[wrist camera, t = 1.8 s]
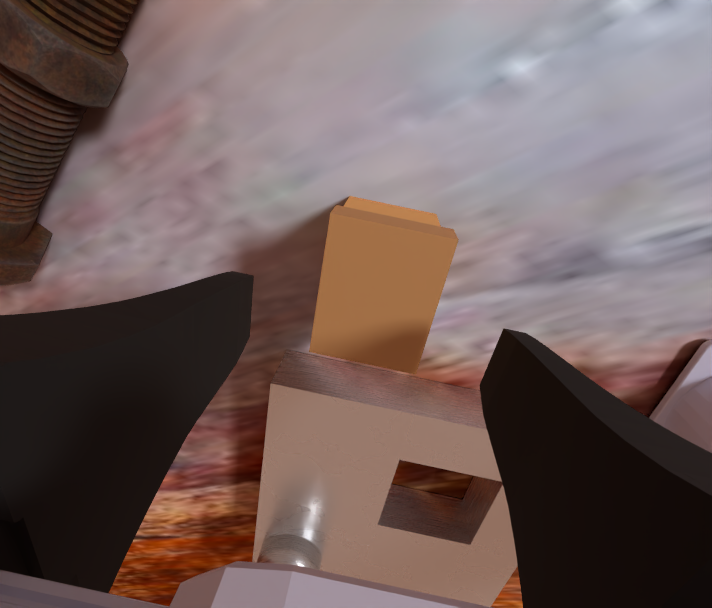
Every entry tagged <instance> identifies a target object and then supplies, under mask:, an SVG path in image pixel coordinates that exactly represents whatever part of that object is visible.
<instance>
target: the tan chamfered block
mask: <svg viewBox="0 0 712 608" xmlns="http://www.w3.org/2000/svg"><path fill="white" fill-rule="evenodd" d="M457 243H458V238H457V236H456V234H455V232H454V229H449V228H445V227H441V226H440V223H439V220H438V218H437V215H436V214H433V213H429V212H424V211H419V210H414V209H409V208H405V207H400V206H395V205H390V204H385V203H381V202H376V201H371V200H366V199H362V198H357V197H352V196H349V198H348V200H347V201H346V203H345V204H344V206H339V205H336V206H335V207H334V209H333V210H332V211H331V213H330V219H329V225H328V232H327V238H326V245H325V251H324V258H323V264H322V271H321V278H320V284H319V291H318V297H317V304H316V310H315V317H314V323H313V330H312V337H311V343H310V350H309V352H313V353H317V354H322V355H327V356H332V357H336V358H341V359H346V360H350V361H355V362H360V363H365V364H369V365H374V366H379V367H383V368H388V369H393V370H397V371H402V372H407V373H412V374H416V372H417V369H418V366H419V362H420V359H421V356H422V353H423V350H424V347H425V343H426V340H427V337H428V334H429V331H430V328H431V325H432V321H433V318H434V315H435V312H436V309H437V306H438V303H439V299H440V296H441V293H442V290H443V287H444V284H445V281H446V277H447V274H448V271H449V268H450V265H451V262H452V259H453V255H454V252H455V249H456V246H457Z"/></svg>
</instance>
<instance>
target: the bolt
mask: <svg viewBox="0 0 712 608" xmlns="http://www.w3.org/2000/svg"><path fill="white" fill-rule="evenodd" d="M137 3H138V2H137V0H0V286H4V285H12V284H17V283H22V282H27V281H31V279H32V277H33V275H34V273H35V271H36V270H37V268H38V266H39V264H40V261H41V259H42V257H43V254H44V252H45V250H46V248H47V245H48V243H49V241H50V238H51V236H52V233H51V232H50V231H48V230H47V229H46V228H44V227H43V226H42V225H40V224H39V223H37V222H36V221H35V220H36V218H37V216H38V213H39V205H40V203H41V202H42V200H43V198H44V195H45V193H46V191H47V189H48V187H49V184H50V182H51V181H52V177H53V176H54V174H55V171H56V170H57V168H58V165H59V164H60V163H61V159H62V158H63V157H64V152H65V151H66V150H67V146H68V145H69V144H70V140H72V137H73V133H74V132H75V131H76V130H77V129H76V127H77V126H78V125H79V122H80V120H81V119H82V118H83V113H84V112H85V111H86V107H91V108H105V107H108V106H109V104H110V102H111V100H112V98H113V96H114V94H115V92H116V90H117V88H118V86H119V84H120V82H121V80H122V78H123V76H124V74H125V72H126V70H127V67H128V62H127V59H126V58H125V56H124V54H123V53H122V51H121V50H120V49H119V48H118V47H117V46H116V45H118V42H117V40H116V38H121V36H122V34H121V32H120V30H124V29H125V24H124V22H128V21H129V20H130V19H129V16H128V14H132V13H133V12H134V11H133V8H132V6H131V5H135V4H137Z"/></svg>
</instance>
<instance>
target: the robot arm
mask: <svg viewBox="0 0 712 608" xmlns="http://www.w3.org/2000/svg"><path fill="white" fill-rule="evenodd" d="M252 292H253V276H252V275H248V274H243V273H238V272H233V271H232V272H226V273H221V274H218V275H214V276H211V277H208V278H204V279H201V280H198V281H195V282H191V283H188V284H185V285H182V286H178V287H175V288H171V289H168V290H164V291H160V292H156V293H153V294H149V295H145V296H141V297H137V298H133V299H128V300H124V301H119V302H113V303H108V304H102V305H97V306H90V307H83V308H75V309H66V310H58V311H49V312H41V313H29V314H15V315H0V608H492V607H487V606H483V605H478V604H474V603H469V602H464V601H460V600H455V599H450V598H446V597H441V596H437V595H432V594H427V593H423V592H418V591H413V590H409V589H404V588H400V587H395V586H390V585H386V584H381V583H376V582H372V581H367V580H363V579H358V578H353V577H349V576H344V575H339V574H335V573H330V572H326V571H321V570H316V569H312V568H307V567H302V566H298V565H290V564H274V563H257V562H240V561H237V562H234V563H231V564H228V565H225V566H223V567H220V568H217V569H214V570H211V571H208V572H205V573H203V574H200V575H197V576H195V577H193V578H191V579H188V580H186V581H184V582H182V583H181V584H180V586H179V588H178V590H177V592H176V594H175V596H174V598H173V600H172V602H171V604H170V606H169V607H168V606H164V605H159V604H155V603H150V602H145V601H141V600H136V599H132V598H127V597H122V596H118V595H113V594H109V591H110V588H111V586H112V584H113V582H114V580H115V578H116V575H117V573H118V571H119V569H120V567H121V565H122V562H123V560H124V558H125V556H126V554H127V552H128V550H129V548H130V546H131V543H132V541H133V539H134V537H135V535H136V533H137V531H138V529H139V527H140V525H141V523H142V521H143V519H144V517H145V515H146V513H147V511H148V509H149V507H150V505H151V503H152V501H153V499H154V497H155V495H156V493H157V491H158V489H159V487H160V485H161V483H162V481H163V480H164V478H165V476H166V474H167V472H168V470H169V468H170V466H171V464H172V463H173V461H174V459H175V457H176V455H177V453H178V452H179V450H180V448H181V446H182V444H183V442H184V441H185V439H186V437H187V435H188V434H189V432H190V431H191V429H192V427H193V426H194V424H195V423H196V421H197V420H198V418H199V417H200V416H201V414H202V413H203V411H204V410H205V408H206V407H207V405H208V404H209V403H210V401H211V400H212V398H213V397H214V395H215V394H216V393H217V391H218V390H219V388H220V387H221V385H222V384H223V382H224V381H225V380H226V378H227V377H228V375H229V374H230V372H231V371H232V369H233V368H234V366H235V365H236V363H237V361H238V359H239V357H240V355H241V353H242V352H243V349H244V347H245V345H246V343H247V341H248V339H249V337H250V322H251V307H252ZM480 393H481V403H482V410H483V416H484V420H485V424H486V428H487V431H488V435H489V439H490V442H491V446H492V449H493V453H494V456H495V459H496V463H497V466H498V470H499V473H500V477H501V480H502V484H503V487H504V491H505V495H506V500H507V504H508V509H509V514H510V520H511V526H512V532H513V538H514V543H515V550H516V557H517V564H518V571H519V578H520V585H521V593H522V601H523V608H712V340H708V341H706V342H704V343H703V344H702V345H701V346H700V347H699V349H698V350H697V351H696V353H695V354H694V356H693V357H692V358H691V360H690V361H689V363H688V364H687V365H686V367H685V368H684V370H683V371H682V372H681V374H680V375H679V377H678V378H677V379H676V381H675V382H674V384H673V385H672V386H671V388H670V389H669V391H668V392H667V393H666V395H665V396H664V398H663V399H662V400H661V402H660V403H659V404H658V406H657V407H656V409H655V410H654V411H653V413H652V414H651V416H650V417H649V418H648V417H646V416H644V415H643V414H641V413H639V412H638V411H636V410H635V409H633V408H632V407H630V406H628V405H627V404H625V403H624V402H622V401H621V400H619V399H618V398H616V397H615V396H613V395H612V394H611V393H609V392H608V391H606V390H605V389H603V388H602V387H600V386H599V385H598V384H596V383H595V382H593V381H592V380H591V379H589V378H588V377H586V376H585V375H584V374H582V373H581V372H580V371H578V370H577V369H576V368H574V367H573V366H572V365H570V364H569V363H568V362H566V361H565V360H564V359H562V358H561V357H560V356H558V355H557V354H556V353H554V352H553V351H552V350H550V349H549V348H548V347H546V346H545V345H543V344H542V343H541V342H539V341H538V340H536V339H535V338H533V337H532V336H530V335H528V334H526V333H523V332H518V331H513V330H509V329H503V331H502V334H501V336H500V338H499V341H498V343H497V345H496V348H495V350H494V352H493V355H492V357H491V360H490V362H489V364H488V367H487V369H486V371H485V374H484V376H483V379H482V381H481V383H480Z"/></svg>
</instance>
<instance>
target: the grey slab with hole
mask: <svg viewBox="0 0 712 608" xmlns="http://www.w3.org/2000/svg"><path fill="white" fill-rule="evenodd" d="M399 460H404V461H408V462H413V463H418V464H422V465H427V466H431V467H436V468H441V469H445V470H450V471H455V472H459V473H464V474H468V475H473V476H474V477H473V479H472V481H471V483H470V485H469V487H468V489H467V492H466V494H465V496H464V498H463V499H458V498H454V497H449V496H445V495H440V494H435V493H431V492H426V491H422V490H417V489H412V488H408V487H403V486H399V485H394V484H391V483H392V480H393V477H394V474H395V471H396V468H397V465H398V462H399ZM252 562H257V563H274V564H290V565H298V566H302V567H307V568H312V569H316V570H321V571H326V572H330V573H335V574H339V575H344V576H349V577H353V578H358V579H363V580H367V581H372V582H376V583H381V584H386V585H390V586H395V587H400V588H404V589H409V590H413V591H418V592H423V593H427V594H432V595H437V596H441V597H446V598H450V599H455V600H460V601H464V602H469V603H474V604H478V605H483V606H487V607H491V605H492V604H493V602H494V600H495V599H496V597H497V596H498V594H499V593H500V591H501V590H502V588H503V587H504V585H505V584H506V582H507V581H508V579H509V578H510V576H511V575H512V573H513V572H514V570H515V569H516V567H517V566H518V564H517V557H516V550H515V543H514V538H513V532H512V526H511V520H510V514H509V509H508V504H507V500H506V495H505V491H504V487H503V484H502V480H501V477H500V473H499V470H498V466H497V463H496V459H495V456H494V453H493V449H492V446H491V442H490V439H489V435H488V431H487V428H486V424H485V420H484V416H483V410H482V403H481V393H480V391H477V390H472V389H467V388H463V387H458V386H453V385H449V384H444V383H439V382H435V381H430V380H425V379H421V378H416V377H411V376H407V375H402V374H397V373H393V372H388V371H383V370H379V369H374V368H369V367H365V366H360V365H355V364H351V363H346V362H341V361H337V360H332V359H327V358H323V357H318V356H313V355H308V354H304V353H299V352H294V351H290V350H287V351H286V353H285V355H284V357H283V359H282V361H281V363H280V365H279V367H278V369H277V371H276V373H275V375H274V377H273V380H272V382H271V385H270V394H269V404H268V414H267V424H266V434H265V443H264V453H263V463H262V473H261V483H260V492H259V502H258V512H257V522H256V532H255V541H254V551H253V561H252Z"/></svg>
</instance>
